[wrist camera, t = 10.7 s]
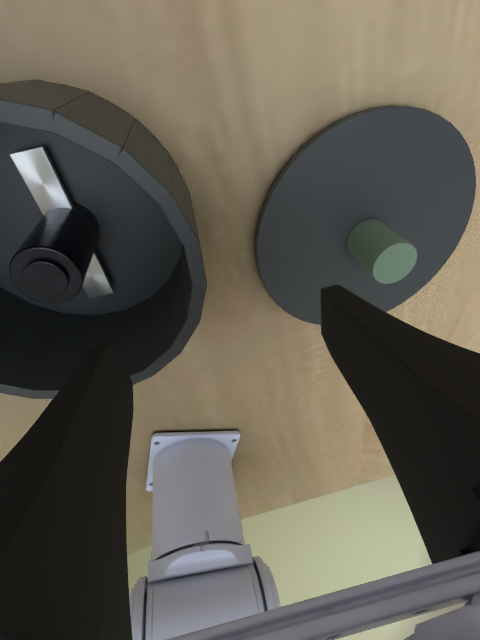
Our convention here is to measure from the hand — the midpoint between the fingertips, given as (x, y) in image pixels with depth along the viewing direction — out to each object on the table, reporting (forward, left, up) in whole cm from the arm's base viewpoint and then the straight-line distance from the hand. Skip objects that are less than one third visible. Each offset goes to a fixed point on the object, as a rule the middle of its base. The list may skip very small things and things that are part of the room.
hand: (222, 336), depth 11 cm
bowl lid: (+1, -10, -9) cm, 13 cm away
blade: (-1, +6, -9) cm, 11 cm away
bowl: (-1, +6, -9) cm, 11 cm away
